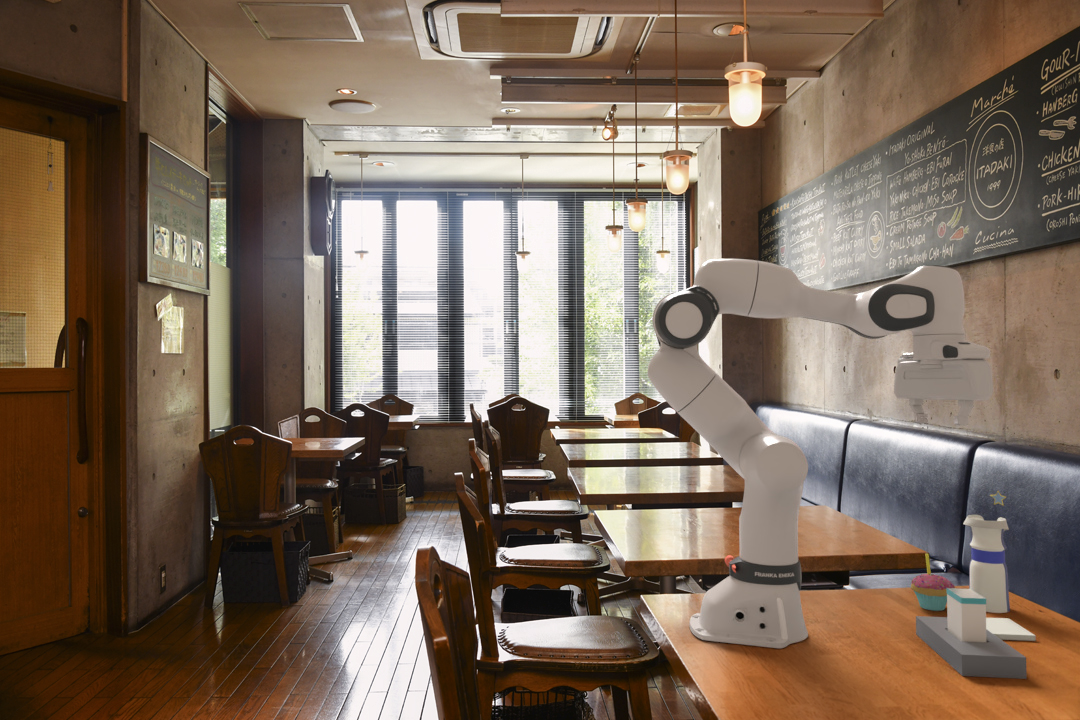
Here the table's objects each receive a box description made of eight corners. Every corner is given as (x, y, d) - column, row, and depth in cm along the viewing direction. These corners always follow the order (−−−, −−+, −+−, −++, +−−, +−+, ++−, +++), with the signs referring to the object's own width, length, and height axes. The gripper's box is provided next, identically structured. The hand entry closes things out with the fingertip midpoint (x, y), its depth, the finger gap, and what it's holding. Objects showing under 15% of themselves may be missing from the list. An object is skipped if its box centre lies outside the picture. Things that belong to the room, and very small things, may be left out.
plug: (962, 660, 128) (961, 597, 128) (947, 648, 134) (946, 588, 134) (987, 662, 127) (986, 598, 127) (971, 649, 133) (970, 588, 133)
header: (962, 675, 121) (961, 654, 121) (916, 634, 141) (915, 616, 141) (1026, 678, 120) (1026, 657, 120) (971, 636, 140) (970, 618, 140)
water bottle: (968, 598, 164) (966, 487, 164) (1013, 606, 158) (1011, 491, 159) (961, 607, 157) (959, 491, 158) (1008, 615, 152) (1005, 495, 153)
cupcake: (902, 602, 161) (901, 548, 162) (938, 601, 162) (937, 547, 162) (927, 614, 153) (926, 557, 153) (964, 613, 154) (963, 556, 154)
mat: (979, 638, 138) (979, 633, 138) (956, 621, 148) (956, 616, 148) (1035, 640, 137) (1035, 635, 137) (1008, 623, 147) (1008, 618, 147)
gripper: (885, 353, 147) (886, 421, 146) (970, 348, 127) (971, 427, 126) (911, 353, 148) (912, 421, 148) (998, 348, 129) (1000, 426, 128)
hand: (940, 424), depth 137 cm, fingers open, 8 cm apart
